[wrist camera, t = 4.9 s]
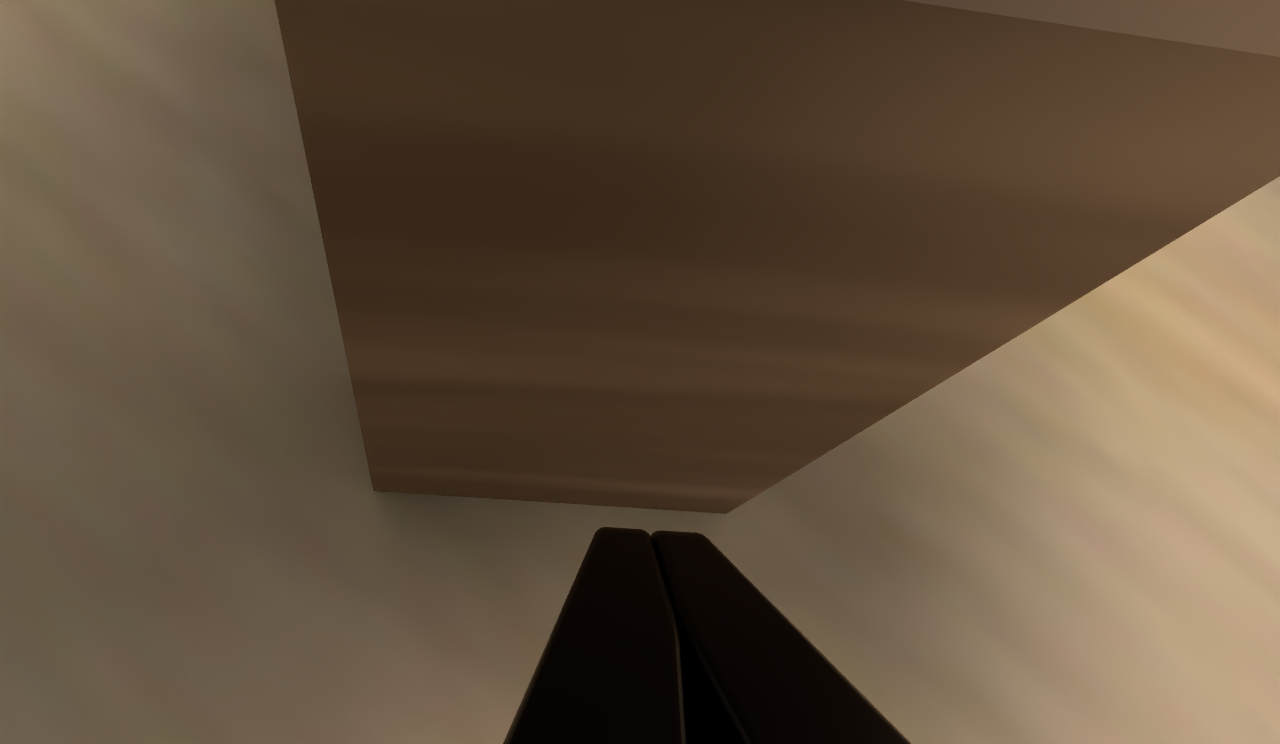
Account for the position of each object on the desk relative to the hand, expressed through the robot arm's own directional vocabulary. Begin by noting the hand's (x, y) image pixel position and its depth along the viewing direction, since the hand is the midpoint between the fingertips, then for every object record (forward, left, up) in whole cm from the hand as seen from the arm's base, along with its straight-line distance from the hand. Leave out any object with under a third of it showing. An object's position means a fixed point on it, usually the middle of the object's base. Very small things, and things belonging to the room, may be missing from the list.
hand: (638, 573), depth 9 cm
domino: (+2, +1, -7) cm, 7 cm away
